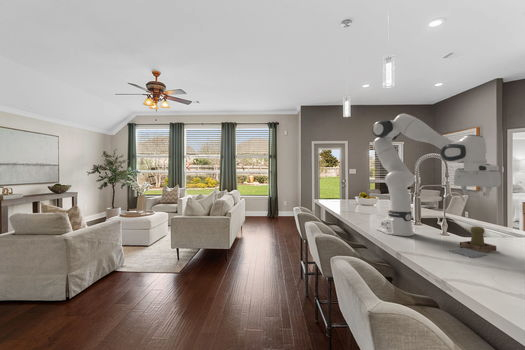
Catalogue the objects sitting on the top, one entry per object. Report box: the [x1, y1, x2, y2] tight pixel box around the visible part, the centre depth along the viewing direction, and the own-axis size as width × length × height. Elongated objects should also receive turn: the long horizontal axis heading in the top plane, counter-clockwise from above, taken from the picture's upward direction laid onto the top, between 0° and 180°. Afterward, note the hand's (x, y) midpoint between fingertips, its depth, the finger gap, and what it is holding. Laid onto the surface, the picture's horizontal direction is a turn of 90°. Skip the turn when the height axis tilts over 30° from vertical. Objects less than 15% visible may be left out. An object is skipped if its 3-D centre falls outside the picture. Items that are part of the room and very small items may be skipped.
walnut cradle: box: [459, 240, 497, 254], centre depth 126 cm, size 10×10×2 cm
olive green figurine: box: [470, 225, 485, 247], centre depth 126 cm, size 6×6×11 cm
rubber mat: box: [448, 247, 488, 258], centre depth 120 cm, size 10×10×1 cm
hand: (475, 195), depth 126 cm, fingers open, 8 cm apart
